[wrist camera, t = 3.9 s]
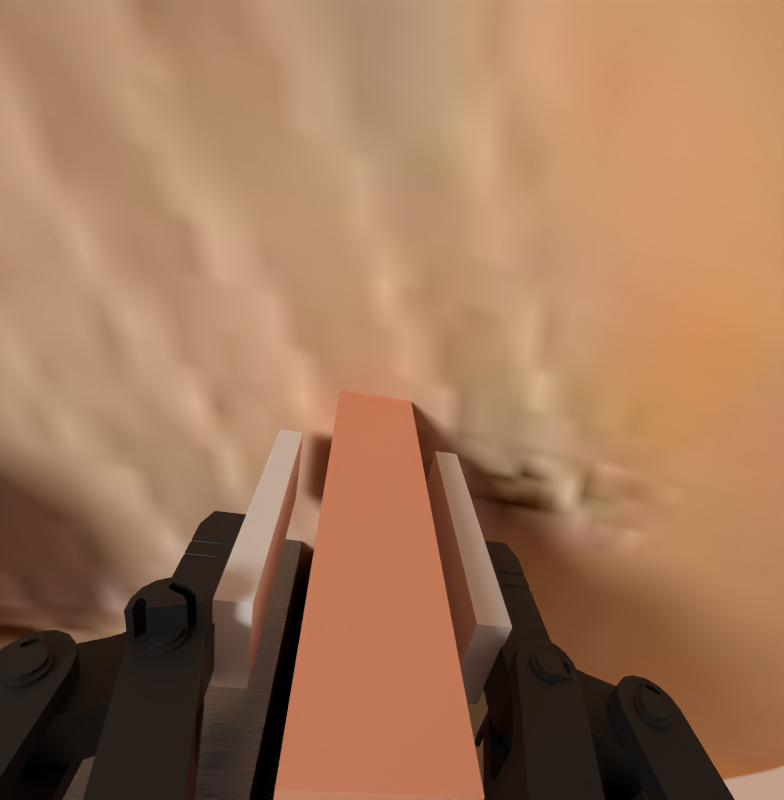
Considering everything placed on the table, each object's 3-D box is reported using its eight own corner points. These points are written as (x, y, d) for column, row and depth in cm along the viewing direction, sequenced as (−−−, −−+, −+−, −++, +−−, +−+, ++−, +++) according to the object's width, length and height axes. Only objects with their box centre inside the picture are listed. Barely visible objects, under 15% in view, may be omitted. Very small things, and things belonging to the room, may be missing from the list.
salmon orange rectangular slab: (340, 390, 15) (274, 788, 5) (411, 400, 15) (484, 798, 5) (305, 622, 20) (239, 1051, 10) (359, 627, 20) (346, 1048, 10)
